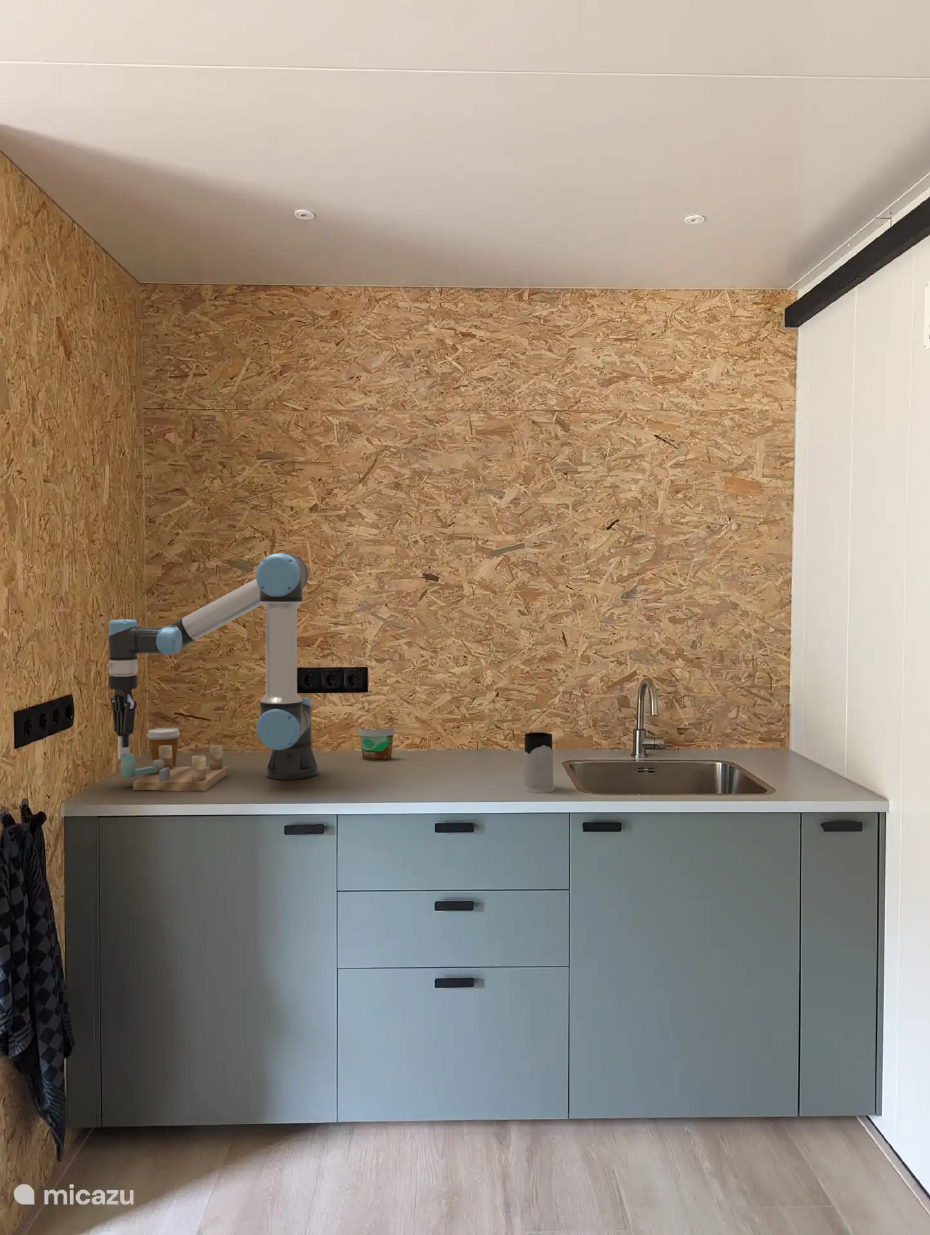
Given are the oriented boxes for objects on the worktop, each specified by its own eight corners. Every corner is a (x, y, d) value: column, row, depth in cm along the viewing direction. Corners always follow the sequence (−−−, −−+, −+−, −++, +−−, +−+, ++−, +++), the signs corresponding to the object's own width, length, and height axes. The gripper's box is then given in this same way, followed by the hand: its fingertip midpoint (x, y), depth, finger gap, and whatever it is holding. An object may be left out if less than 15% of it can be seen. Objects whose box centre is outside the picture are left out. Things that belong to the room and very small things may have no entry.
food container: (351, 760, 289) (351, 729, 288) (359, 756, 294) (359, 726, 294) (388, 762, 285) (387, 730, 285) (395, 758, 291) (395, 727, 290)
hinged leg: (159, 769, 263) (159, 748, 263) (165, 771, 260) (165, 750, 260) (118, 776, 254) (118, 755, 254) (125, 778, 252) (124, 756, 251)
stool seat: (227, 775, 269) (227, 744, 268) (205, 791, 249) (204, 758, 248) (160, 774, 269) (160, 744, 269) (133, 790, 249) (132, 758, 249)
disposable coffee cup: (185, 766, 282) (184, 727, 281) (172, 772, 272) (172, 733, 272) (156, 765, 283) (155, 727, 282) (142, 772, 273) (141, 732, 273)
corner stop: (170, 778, 253) (169, 767, 253) (164, 781, 249) (164, 770, 249) (164, 778, 254) (164, 767, 253) (159, 781, 250) (159, 770, 249)
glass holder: (529, 794, 243) (528, 738, 242) (511, 782, 256) (511, 729, 256) (559, 791, 245) (559, 736, 244) (540, 780, 259) (540, 728, 258)
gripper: (100, 673, 257) (101, 756, 258) (118, 677, 247) (119, 763, 248) (127, 671, 262) (127, 753, 263) (145, 675, 252) (146, 760, 253)
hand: (123, 758), depth 256 cm, fingers closed
